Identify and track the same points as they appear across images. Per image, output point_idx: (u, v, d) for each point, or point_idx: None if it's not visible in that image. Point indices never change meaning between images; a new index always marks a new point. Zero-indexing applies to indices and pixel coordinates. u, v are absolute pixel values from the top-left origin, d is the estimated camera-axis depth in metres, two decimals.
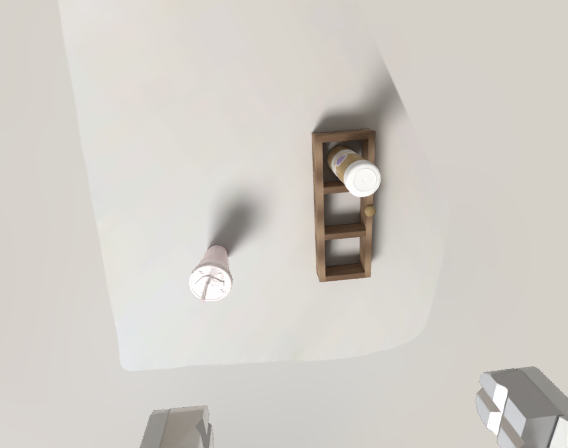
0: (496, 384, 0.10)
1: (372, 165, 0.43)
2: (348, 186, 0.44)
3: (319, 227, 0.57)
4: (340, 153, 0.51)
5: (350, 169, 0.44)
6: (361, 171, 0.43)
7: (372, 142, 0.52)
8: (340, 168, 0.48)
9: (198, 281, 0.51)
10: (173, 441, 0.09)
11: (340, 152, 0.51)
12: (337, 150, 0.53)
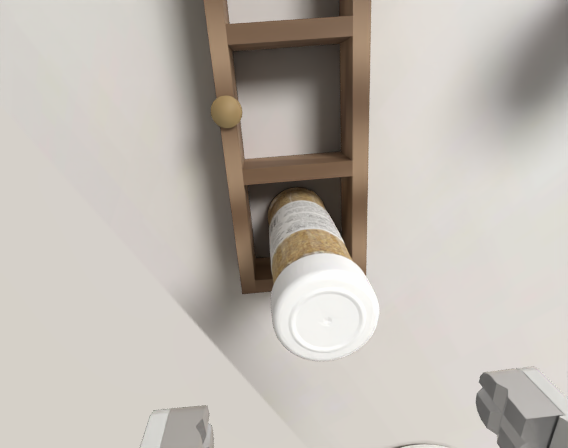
0: (496, 384, 0.10)
1: (305, 357, 0.15)
2: (375, 302, 0.14)
3: (366, 61, 0.20)
4: None
5: (364, 341, 0.15)
6: (337, 344, 0.15)
7: (245, 274, 0.24)
8: None
9: None
10: (173, 441, 0.09)
11: None
12: None
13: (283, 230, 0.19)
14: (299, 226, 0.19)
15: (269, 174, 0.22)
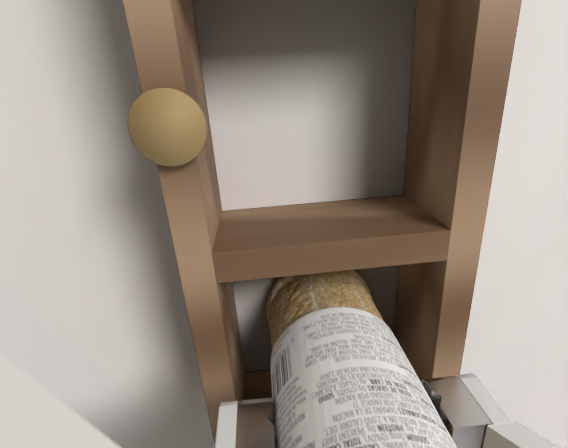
0: (431, 392, 0.09)
1: None
2: None
3: (512, 5, 0.08)
4: None
5: None
6: None
7: None
8: None
9: None
10: (248, 432, 0.09)
11: None
12: None
13: (311, 434, 0.08)
14: None
15: (271, 260, 0.10)
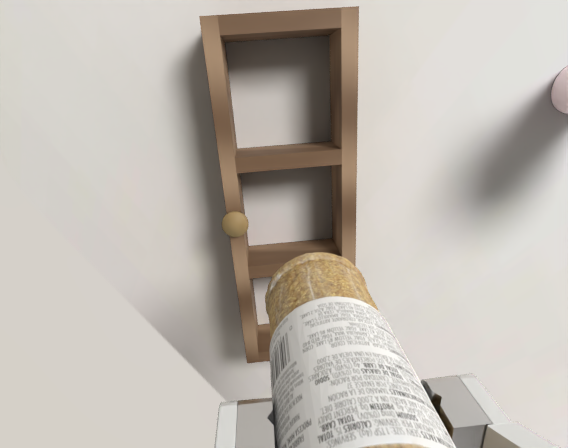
0: (431, 392, 0.09)
1: None
2: None
3: (353, 183, 0.24)
4: None
5: None
6: None
7: (249, 347, 0.28)
8: None
9: None
10: (248, 432, 0.09)
11: None
12: None
13: (307, 414, 0.08)
14: (351, 424, 0.07)
15: (271, 269, 0.26)
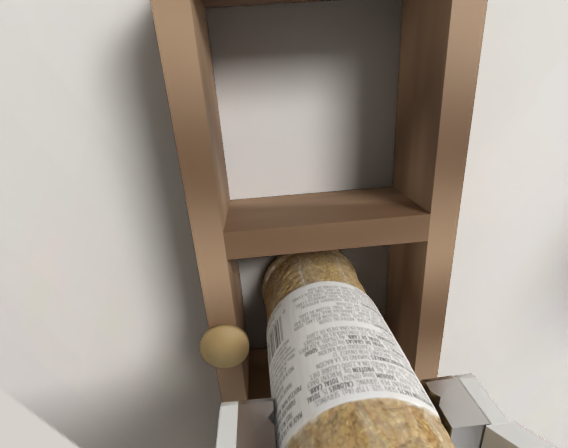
0: (430, 392, 0.09)
1: None
2: None
3: (445, 273, 0.13)
4: None
5: None
6: None
7: None
8: None
9: None
10: (249, 432, 0.09)
11: None
12: None
13: (298, 381, 0.09)
14: (335, 385, 0.08)
15: None
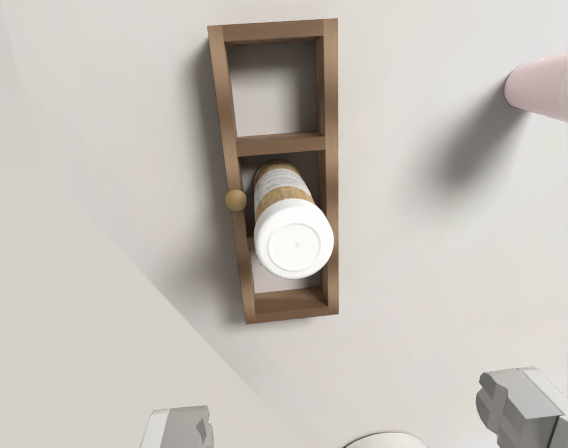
0: (496, 384, 0.10)
1: (281, 276, 0.20)
2: (329, 230, 0.19)
3: (335, 165, 0.28)
4: None
5: (325, 263, 0.20)
6: (304, 264, 0.20)
7: (248, 310, 0.33)
8: None
9: None
10: (173, 441, 0.09)
11: None
12: None
13: (263, 189, 0.24)
14: (275, 185, 0.24)
15: None
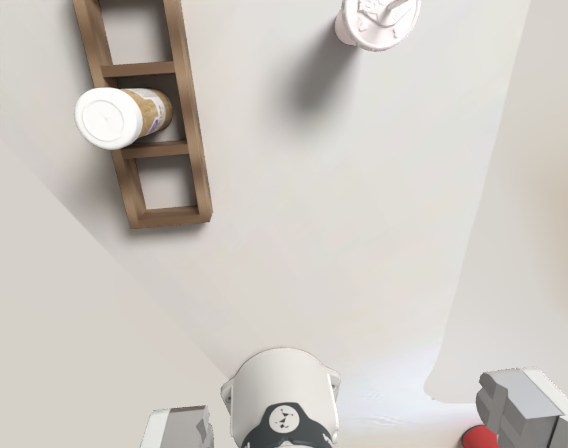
0: (496, 384, 0.10)
1: (99, 146, 0.27)
2: (129, 107, 0.26)
3: (185, 86, 0.35)
4: (156, 129, 0.35)
5: (133, 137, 0.27)
6: (114, 136, 0.26)
7: (130, 216, 0.39)
8: (150, 121, 0.31)
9: (403, 14, 0.28)
10: (173, 441, 0.09)
11: (155, 130, 0.35)
12: (160, 127, 0.37)
13: None
14: None
15: (137, 152, 0.37)
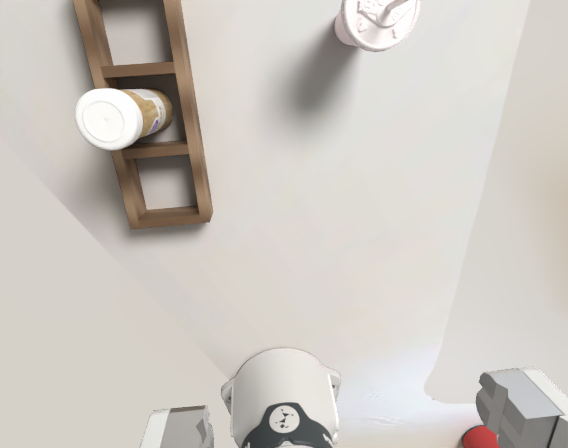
0: (496, 384, 0.10)
1: (99, 147, 0.27)
2: (129, 108, 0.26)
3: (186, 87, 0.35)
4: (156, 130, 0.35)
5: (134, 137, 0.27)
6: (115, 136, 0.27)
7: (131, 216, 0.39)
8: (150, 121, 0.31)
9: (402, 15, 0.28)
10: (173, 441, 0.09)
11: (155, 131, 0.35)
12: (160, 128, 0.37)
13: None
14: None
15: (137, 152, 0.37)
